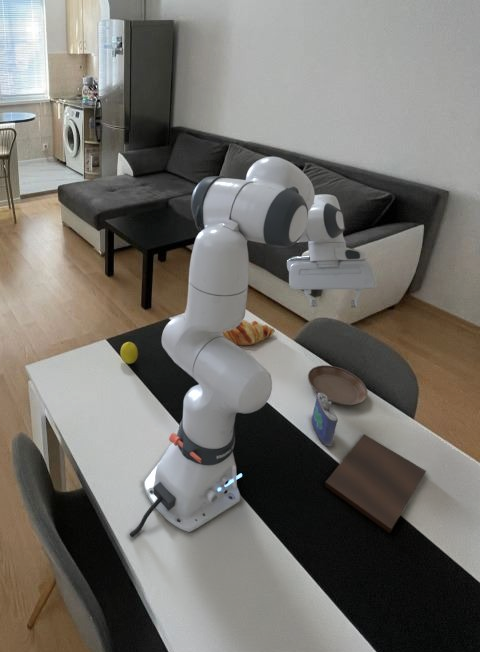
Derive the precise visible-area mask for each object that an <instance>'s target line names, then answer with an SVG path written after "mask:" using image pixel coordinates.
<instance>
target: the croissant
mask: <svg viewBox="0 0 480 652" xmlns="http://www.w3.org/2000/svg"><path fill="white" fill-rule="evenodd" d="M274 329H275V328H272V327H271V326H269V325H268V324H262V323H259V322H258V321H256V320H253V321H251V322H248V320H246V319H243V320H242V322H241V323H240V324H239V325H238V326H237V327H236V328H234V329H232V330H229V331H224V332H223V335H224V336H225V337H226V338H227V339H228V340H230V341H231V342H233V343H234V344H236V345H237V346H246V345H247V346H249V345H256V344H257V343H259V342H261V341H264V340H265V339H266V338H269V337H271V336H273V335H274V334H275V332H276V330H274Z"/></svg>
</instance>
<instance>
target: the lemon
mask: <svg viewBox="0 0 480 652" xmlns="http://www.w3.org/2000/svg"><path fill="white" fill-rule="evenodd" d="M138 356H139V351H138V348H137V346H136V344H135V343H133V342H132V341H127V342H124V343H123V344H122V345H121V348H120V358H121V360H122V361H123V362H124V363H125V364H129V365H131V364H134V363H135V362H136V361H137V359H138Z"/></svg>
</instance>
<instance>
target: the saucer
mask: <svg viewBox="0 0 480 652" xmlns="http://www.w3.org/2000/svg"><path fill="white" fill-rule="evenodd" d="M307 380H308V383H309V385H310V386H311V387H312V389H313V390H314V391H315V392H316V394H318V393H323V394H325V395H326V396H327V397H328V402H330V401H331V404H332V403H333V404H335V405H339V406H345V407H346V406H347V407H348V406H349V407H350V406H356V405H359V404H361V403H363V402H365V401H366V400H367V398H368V395H369V393H368V389H367V387H366V384H365V383H364V381H362V380H361V379H360V378H359V377H358V376H356V375H355V374H354V373H352V372H350V371H348V370H346V369H344V368H342V367H338V366H333V365H326V364H324V365H317V366H314V367H311V369H310V370H309V371H308V374H307Z"/></svg>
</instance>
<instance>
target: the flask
mask: <svg viewBox="0 0 480 652" xmlns="http://www.w3.org/2000/svg"><path fill="white" fill-rule="evenodd" d="M331 405H332V402H331V401H328V397H327V396H326V395H325V394H323V393H316V398H315V403H314V409H313V412H312V416H311V425H312V428H313V431H314V432H315V434H316V436H317V438H318V440H319V442H320V443H321V444H322V445H323V446H324V447H327V448H330V447H332V446H333V443H334V438H335V432H336V428H337V424H338V421H339V419H338V416H337V415H336V413H335V411H334V410H333V408H332V407H331Z"/></svg>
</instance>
